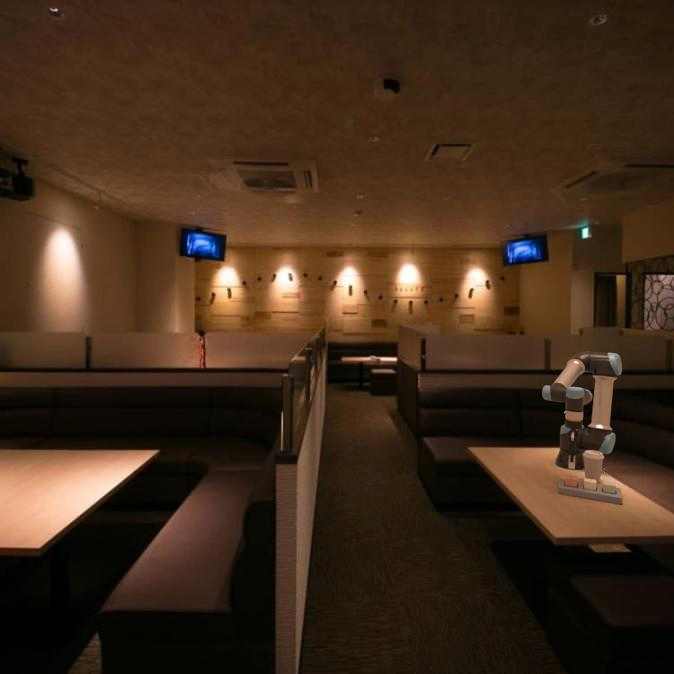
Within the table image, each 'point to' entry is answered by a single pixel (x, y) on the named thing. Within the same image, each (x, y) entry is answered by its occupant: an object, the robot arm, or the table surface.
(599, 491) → the keypad board
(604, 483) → the sage key
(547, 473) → the table surface
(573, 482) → the terracotta key
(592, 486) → the ivory key
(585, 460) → the coffee cup
